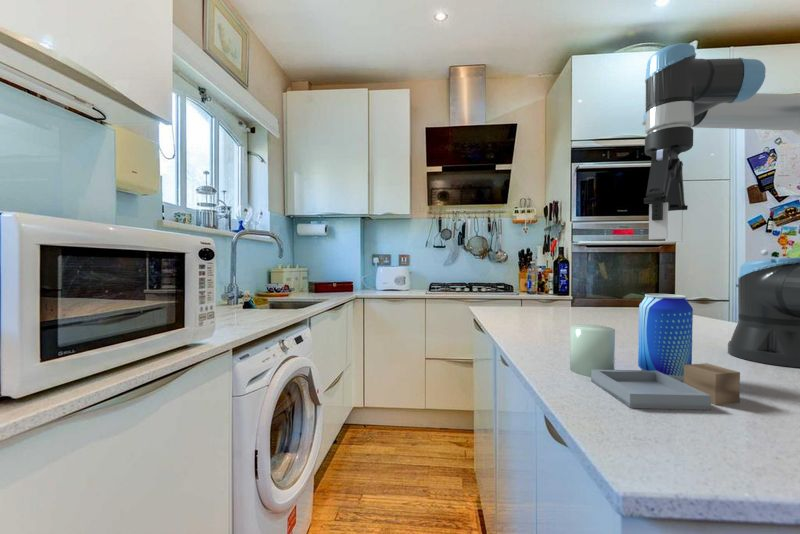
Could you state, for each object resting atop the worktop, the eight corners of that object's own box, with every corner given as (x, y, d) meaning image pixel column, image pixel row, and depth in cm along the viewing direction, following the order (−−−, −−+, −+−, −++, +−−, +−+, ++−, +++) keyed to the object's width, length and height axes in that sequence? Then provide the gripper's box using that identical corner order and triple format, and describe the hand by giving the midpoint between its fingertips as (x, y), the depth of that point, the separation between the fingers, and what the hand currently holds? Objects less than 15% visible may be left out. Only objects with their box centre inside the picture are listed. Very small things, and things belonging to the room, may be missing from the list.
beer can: (672, 369, 73) (673, 293, 73) (702, 384, 65) (704, 297, 64) (629, 368, 74) (630, 292, 73) (654, 382, 65) (655, 297, 65)
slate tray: (656, 382, 65) (657, 370, 65) (710, 409, 53) (711, 395, 53) (591, 381, 66) (591, 369, 66) (629, 407, 54) (630, 393, 54)
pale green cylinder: (601, 365, 76) (601, 324, 75) (623, 378, 68) (623, 332, 67) (563, 365, 76) (564, 324, 76) (580, 377, 68) (581, 331, 68)
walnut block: (706, 391, 61) (706, 363, 61) (739, 403, 56) (740, 372, 56) (683, 393, 60) (683, 364, 60) (715, 405, 55) (715, 374, 55)
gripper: (660, 149, 79) (658, 243, 80) (626, 120, 63) (625, 238, 63) (703, 141, 74) (701, 242, 74) (680, 106, 57) (677, 236, 57)
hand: (666, 240), depth 69 cm, fingers open, 13 cm apart
